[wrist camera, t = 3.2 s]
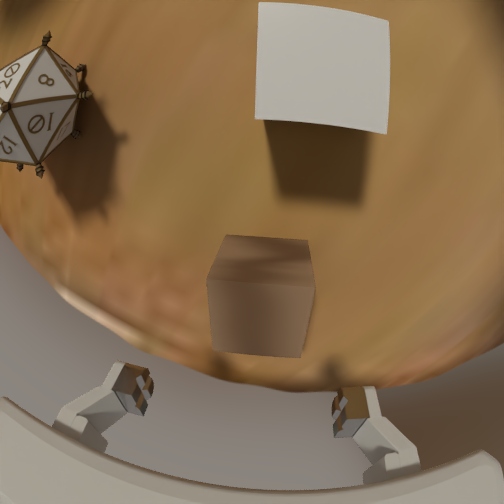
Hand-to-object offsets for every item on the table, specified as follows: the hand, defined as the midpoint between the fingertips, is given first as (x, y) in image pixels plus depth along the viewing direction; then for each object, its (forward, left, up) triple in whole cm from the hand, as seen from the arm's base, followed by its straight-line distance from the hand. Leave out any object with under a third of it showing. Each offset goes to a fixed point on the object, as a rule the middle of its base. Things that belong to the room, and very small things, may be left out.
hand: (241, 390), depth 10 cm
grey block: (-2, -12, -9) cm, 15 cm away
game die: (+14, -12, -9) cm, 20 cm away
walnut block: (0, 0, -9) cm, 9 cm away
